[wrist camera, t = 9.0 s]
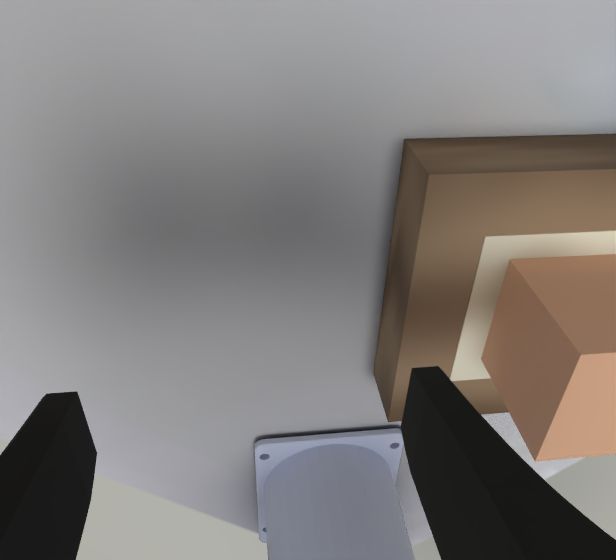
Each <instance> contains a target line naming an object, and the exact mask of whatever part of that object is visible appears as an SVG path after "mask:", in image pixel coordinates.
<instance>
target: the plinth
mask: <svg viewBox="0 0 616 560" xmlns="http://www.w3.org/2000/svg"><path fill="white" fill-rule="evenodd" d="M605 254H616V134H605V135H562V136H519V137H476V138H434V139H405V140H404V148H403V155H402V163H401V171H400V178H399V186H398V193H397V201H396V208H395V216H394V224H393V231H392V239H391V246H390V254H389V261H388V269H387V277H386V284H385V292H384V299H383V307H382V314H381V322H380V330H379V337H378V345H377V352H376V360H375V367H374V376H375V380H376V383H377V386H378V390H379V393H380V397H381V400H382V403H383V407H384V410H385V413H386V417H387V420H388V422H395V421H402V418H403V412H404V407H405V402H406V396H407V391H408V386H409V380H410V375H411V370H412V368H418V367H432V366H439V367H440V368H441V369H442V370H443V371H444V373H445V374H446V375H447V376H448V377H449V379H450V380H451V381H452V382H453V383H454V384H455V386H456V387H457V388H458V389H459V390H460V392H461V393H462V394H463V395H464V396H465V397H466V399H467V400H468V401H469V402H470V403H471V404H472V405H473V407H474V408H475V409H476V410H477V411H478V412H479V413H480V415H481V414H493V413H505V412H509V411H508V409H507V407H506V406H505V404H504V402H503V400H502V398H501V396H500V394H499V392H498V391H497V389H496V387H495V385H494V383H493V381H492V379H491V377H490V375H489V374H488V372H487V370H486V368H485V366H484V364H483V362H482V360H481V357H482V354H483V350H484V347H485V343H486V340H487V336H488V333H489V329H490V326H491V322H492V319H493V316H494V312H495V309H496V305H497V302H498V298H499V295H500V291H501V288H502V284H503V281H504V277H505V274H506V270H507V267H508V263H509V260H510V259H523V258H544V257H564V256H585V255H605Z"/></svg>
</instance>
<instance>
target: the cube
mask: <svg viewBox="0 0 616 560" xmlns="http://www.w3.org/2000/svg"><path fill="white" fill-rule="evenodd" d="M481 360H482V362H483V364H484V366H485V368H486V370H487V372H488V374H489V375H490V377H491V379H492V381H493V383H494V385H495V387H496V389H497V391H498V392H499V394H500V396H501V398H502V400H503V402H504V404H505V406H506V407H507V409H508V411H509V413H510V415H511V417H512V419H513V421H514V423H515V424H516V426H517V428H518V430H519V432H520V434H521V436H522V438H523V440H524V441H525V443H526V445H527V447H528V449H529V451H530V453H531V455H532V456H533V458H534V460H535V461H545V460H556V459H567V458H577V457H588V456H599V455H610V454H616V254H605V255H585V256H564V257H544V258H523V259H510V260H509V263H508V267H507V270H506V274H505V277H504V281H503V284H502V288H501V291H500V295H499V298H498V302H497V305H496V309H495V312H494V316H493V319H492V322H491V326H490V329H489V333H488V336H487V340H486V343H485V347H484V350H483V354H482V357H481Z"/></svg>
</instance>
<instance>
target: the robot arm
mask: <svg viewBox="0 0 616 560" xmlns="http://www.w3.org/2000/svg"><path fill="white" fill-rule="evenodd" d="M403 444H404V446H405V451H406V455H407V459H408V464H409V468H410V472H411V475H412V478H413V480H414V483H415V486H416V489H417V492H418V495H419V498H420V501H421V503H422V506H423V509H424V512H425V515H426V517H427V520H428V523H429V526H430V529H431V531H432V534H433V537H434V540H435V543H436V545H437V548H438V551H439V554H440V556H441V559H442V560H616V540H615V539H614V538H612V537H611V536H610V535H608V534H607V533H606V532H604V531H603V530H602V529H601V528H599V527H598V526H597V525H596V524H594V523H593V522H592V521H590V519H588V518H587V517H586V516H584V515H583V514H582V513H581V512H580V511H579V510H577V509H576V508H575V507H574V506H573V505H572V504H570V503H569V502H568V501H567V500H566V499H565V498H563V497H562V496H561V495H560V494H559V493H558V492H557V491H556V490H554V489H553V488H552V487H551V486H550V485H549V484H548V483H547V482H546V481H545V480H544V479H543V478H542V477H541V476H539V475H538V474H537V473H536V472H535V471H534V470H533V469H532V468H531V467H530V466H529V465H528V464H527V463H526V462H525V461H524V460H523V459H522V458H521V457H520V456H519V455H518V454H517V453H516V452H515V451H514V450H513V449H512V448H511V447H510V446H509V445H508V444H507V443H506V442H505V440H504V439H503V438H502V437H501V436H500V435H499V434H498V433H497V432H496V431H495V430H494V429H493V428H492V427H491V426H490V424H489V423H488V422H487V421H486V420H485V419H484V418H483V417H482V416H481V415H480V413H479V412H478V411H477V410H476V409H475V408H474V407H473V405H472V404H471V403H470V402H469V401H468V400H467V399H466V397H465V396H464V395H463V394H462V393H461V392H460V390H459V389H458V388H457V387H456V386H455V384H454V383H453V382H452V381H451V380H450V379H449V377H448V376H447V375H446V374H445V373H444V371H443V370H442V369H441V368H440V367H439V366H432V367H418V368H412V370H411V375H410V380H409V386H408V391H407V396H406V402H405V407H404V412H403V418H402V423H401V429H398V428H392V429H380V430H368V431H356V432H344V433H332V434H320V435H308V436H296V437H284V438H272V439H262V440H259V441H257V442H256V443H255V445H254V450H255V469H256V488H257V507H258V526H259V539H260V541H262V542H267V548H268V560H415V558H414V554H413V551H412V547H411V543H410V540H409V536H408V533H407V529H406V525H405V522H404V518H403V515H402V511H401V507H400V504H399V500H398V497H397V493H396V489H395V485H396V479H397V474H398V469H399V464H400V459H401V454H402V449H403ZM96 456H97V452H96V449H95V446H94V443H93V439H92V436H91V433H90V430H89V427H88V424H87V421H86V418H85V414H84V411H83V408H82V405H81V402H80V399H79V396H78V393H77V392H64V393H50V394H46V395H45V396H44V397H43V398H42V399H41V401H40V402H39V404H38V405H37V406H36V408H35V409H34V410H33V412H32V413H31V415H30V416H29V417H28V419H27V420H26V421H25V423H24V424H23V426H22V427H21V428H20V430H19V431H18V432H17V434H16V435H15V436H14V438H13V439H12V440H11V442H10V443H9V444H8V446H7V447H6V448H5V450H4V451H3V452H2V454H1V455H0V560H76V556H77V552H78V549H79V544H80V540H81V537H82V533H83V529H84V525H85V521H86V517H87V513H88V509H89V505H90V501H91V494H92V488H93V480H94V473H95V465H96Z"/></svg>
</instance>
